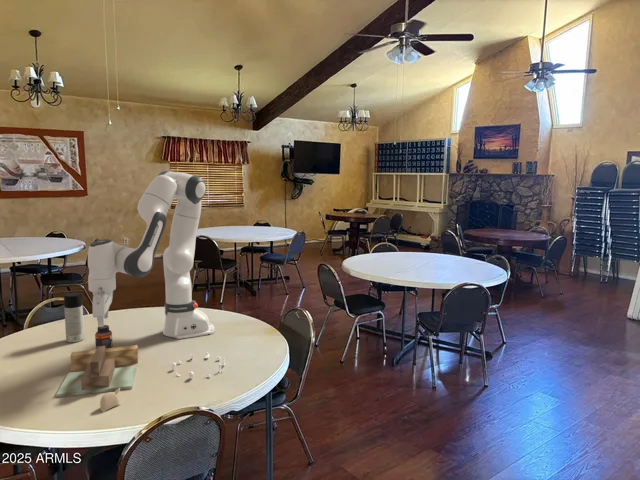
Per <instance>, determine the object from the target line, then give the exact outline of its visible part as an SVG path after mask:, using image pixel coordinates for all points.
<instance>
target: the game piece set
mask: <svg viewBox="0 0 640 480" xmlns="http://www.w3.org/2000/svg"><path fill="white" fill-rule="evenodd" d="M195 355H196V354H195ZM195 355H194V354H193V353H191V354H190V355H189V356H190V359H193V358H194V357H195ZM210 356H211V355H210V354H209V352H206V354H205V355H204V359H210ZM225 358H226V357H224V356H223V357H221V356H218V355H217V356H216V360H217V359H221V360H222V359H223V364H221V363H218V369H217V371H216V373H217V372H218V371H221V370H222V368H221V367H222V366H223V367H225V366H226V363H225ZM177 365H182V361H181V359H179V360H178V362H177V363H176V362H172V363H171V370H172V371H173V370H174V371H175V370H176V366H177ZM224 365H225V366H224ZM210 368H211V367H208V370H210ZM187 374H188V377H189V379H190V380H193V378H194V375H195V373H194V372H193V371H189V372H188V373H187ZM175 375H176V377H178V376H180V377H181V375H180V374H179V373H178V372H177V371H175ZM206 376H207V377H208V378H210V377H212V375H211V374H210V373H208V375H207V374H206ZM207 377H206V378H207ZM208 378H207V379H208Z"/></svg>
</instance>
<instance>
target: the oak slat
mask: <svg viewBox="0 0 640 480" xmlns="http://www.w3.org/2000/svg"><path fill="white" fill-rule="evenodd" d="M138 350H139V347H138V344H134V345H133V344H132V345H127V346H115V347H113V348H106V349H105V351H106V359H115V367H116V366H118V367H119V366H125V365H130V364H131V365H132V364H138V363H139V351H138ZM95 351H96V349H92V350H91V349H90V350H81V351H72V352H71V354H70V371H71V372H80V371H85V369H86V367H87V365H88V363H89V361H91V360H92V358H93V355H94V353H95Z"/></svg>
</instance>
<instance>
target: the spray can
mask: <svg viewBox="0 0 640 480" xmlns="http://www.w3.org/2000/svg"><path fill="white" fill-rule="evenodd" d="M63 304H64V305H63V306H64V321H65V322H64V323H65V325H64V326H65V340H66V342H67V343H79V342H81V341H83V340H84V338H85V333H84V332H85V329H84V328H85V327H84V315H83V314H84V310H83V307H84V306H83V296H82V292H69V293H66V294H64V295H63Z"/></svg>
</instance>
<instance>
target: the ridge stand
mask: <svg viewBox="0 0 640 480" xmlns="http://www.w3.org/2000/svg"><path fill="white" fill-rule="evenodd" d="M95 350H96V351H95V353H94V355H93V358H92V360H91V361H89V363H88V365H87V367H86V369H85V370H79V371H71V372H68V373H67V374H66V376H65V377H64V379H63V380H62V383H61V385H60V387H59V388H58V390H57V392H56V394H55V395H56V398H61V397H63V398H64V397H70V396H71V397H72V396H79V395H88V394H97V393H105V392H106V393H108V392H115V391H116V390H117V389H118V388H120V391H123V390H132V389H133V387H134V382H135V377H136V372H137V366H136V365H133V366H132V365H131V366H122V367H116V366H115V359H106V351H105V346H98V347H97V349H96V348H95Z"/></svg>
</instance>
